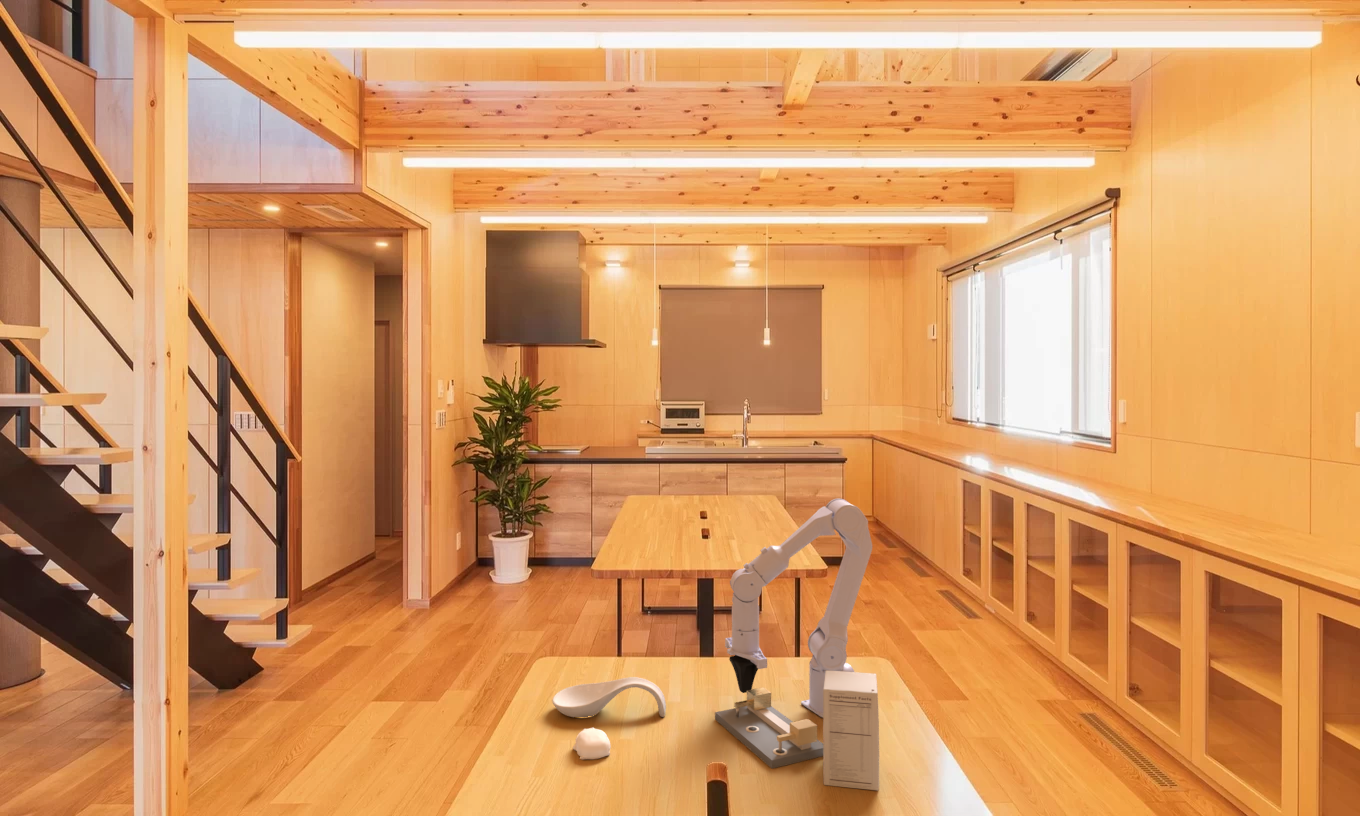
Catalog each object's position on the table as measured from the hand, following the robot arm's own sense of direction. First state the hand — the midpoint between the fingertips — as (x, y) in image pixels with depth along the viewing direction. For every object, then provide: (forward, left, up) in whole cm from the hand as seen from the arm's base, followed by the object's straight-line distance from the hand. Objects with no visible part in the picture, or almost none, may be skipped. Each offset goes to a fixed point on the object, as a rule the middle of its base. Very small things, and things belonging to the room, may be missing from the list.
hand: (745, 691), depth 160 cm
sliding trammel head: (+2, +6, -2) cm, 6 cm away
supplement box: (-3, +31, -4) cm, 32 cm away
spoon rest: (+27, -11, -4) cm, 29 cm away
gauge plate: (+2, +13, -4) cm, 13 cm away
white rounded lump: (+35, +4, -4) cm, 35 cm away
